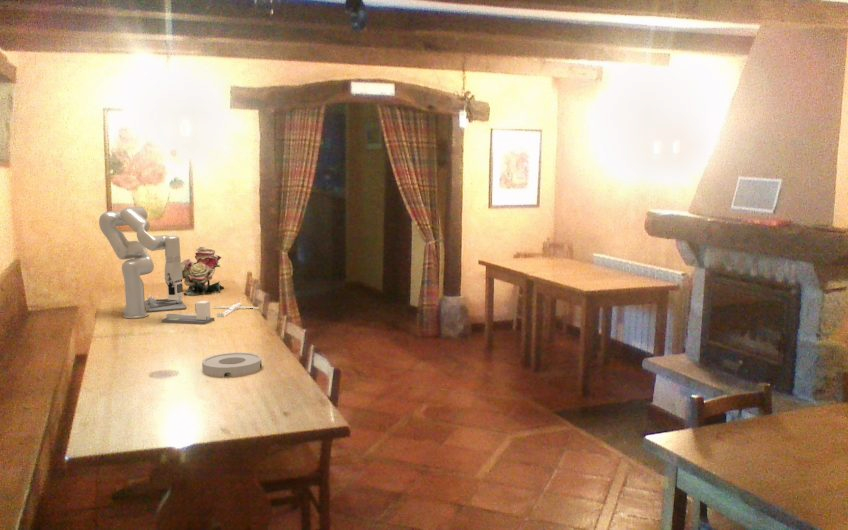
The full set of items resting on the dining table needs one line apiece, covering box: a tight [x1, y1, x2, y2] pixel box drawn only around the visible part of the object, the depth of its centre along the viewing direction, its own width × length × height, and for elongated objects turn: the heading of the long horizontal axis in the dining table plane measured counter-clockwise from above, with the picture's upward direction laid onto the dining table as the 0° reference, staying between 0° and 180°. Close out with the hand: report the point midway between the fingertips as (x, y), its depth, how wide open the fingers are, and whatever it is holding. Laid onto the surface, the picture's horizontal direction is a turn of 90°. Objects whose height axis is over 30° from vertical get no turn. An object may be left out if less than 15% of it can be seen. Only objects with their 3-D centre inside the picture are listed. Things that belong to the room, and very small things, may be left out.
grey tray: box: [145, 296, 187, 313], centre depth 422 cm, size 30×22×7 cm
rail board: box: [161, 300, 215, 325], centre depth 380 cm, size 25×10×11 cm, turn 77°
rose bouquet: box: [181, 246, 225, 297], centre depth 467 cm, size 26×29×30 cm
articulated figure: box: [212, 302, 260, 318], centre depth 406 cm, size 27×4×30 cm
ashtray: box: [201, 352, 263, 378], centre depth 291 cm, size 23×23×4 cm
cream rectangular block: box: [167, 281, 184, 300], centre depth 380 cm, size 6×6×9 cm
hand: (175, 293), depth 381 cm, fingers closed on cream rectangular block, 5 cm apart
